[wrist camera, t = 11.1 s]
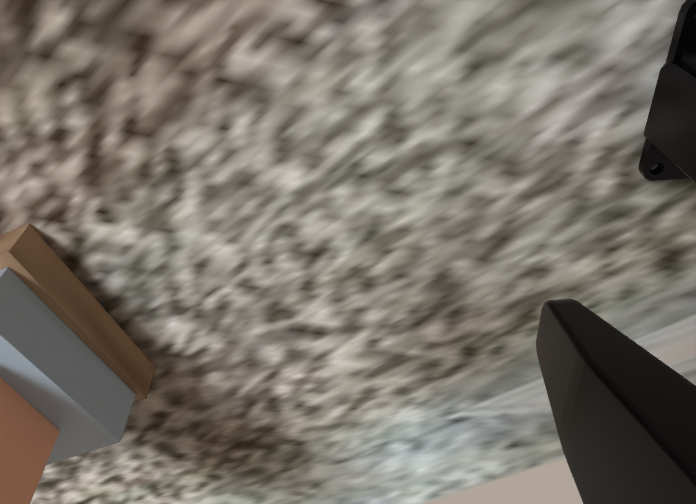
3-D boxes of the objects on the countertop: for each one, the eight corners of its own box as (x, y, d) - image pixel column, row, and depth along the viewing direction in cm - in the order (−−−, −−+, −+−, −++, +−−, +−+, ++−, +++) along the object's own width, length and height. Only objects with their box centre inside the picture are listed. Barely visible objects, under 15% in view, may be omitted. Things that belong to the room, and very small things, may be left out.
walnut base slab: (36, 215, 23) (8, 251, 21) (159, 357, 28) (146, 398, 26) (-137, 282, 25) (-177, 322, 23) (9, 405, 30) (-14, 447, 28)
